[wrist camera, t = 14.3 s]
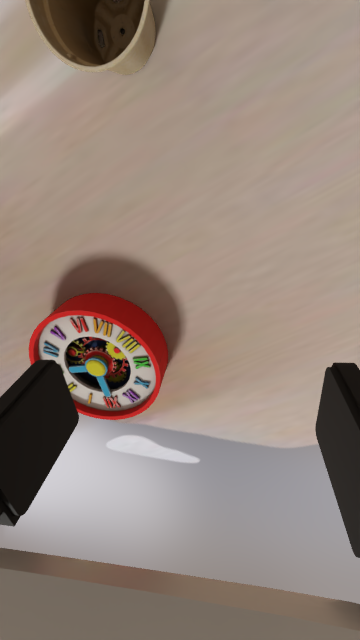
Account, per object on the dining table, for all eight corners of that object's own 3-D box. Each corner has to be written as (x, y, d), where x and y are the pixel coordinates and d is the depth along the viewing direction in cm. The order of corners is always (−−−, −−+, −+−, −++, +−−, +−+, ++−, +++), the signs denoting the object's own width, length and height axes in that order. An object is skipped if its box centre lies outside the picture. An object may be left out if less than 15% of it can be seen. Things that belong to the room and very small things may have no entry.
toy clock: (138, 300, 35) (174, 417, 44) (150, 283, 40) (180, 391, 49) (4, 319, 39) (61, 421, 48) (29, 301, 44) (77, 397, 53)
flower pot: (57, 14, 27) (-8, -42, 20) (133, -75, 24) (90, -183, 16) (115, 115, 30) (78, 100, 23) (190, 50, 27) (176, 7, 20)
